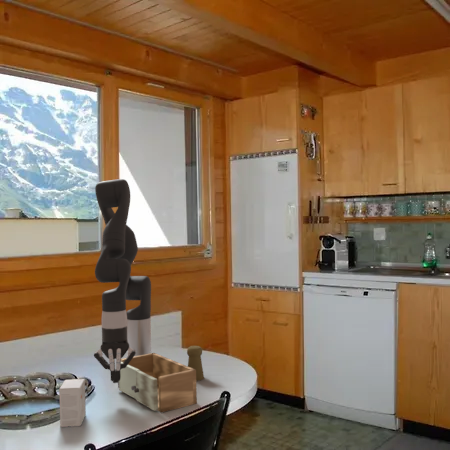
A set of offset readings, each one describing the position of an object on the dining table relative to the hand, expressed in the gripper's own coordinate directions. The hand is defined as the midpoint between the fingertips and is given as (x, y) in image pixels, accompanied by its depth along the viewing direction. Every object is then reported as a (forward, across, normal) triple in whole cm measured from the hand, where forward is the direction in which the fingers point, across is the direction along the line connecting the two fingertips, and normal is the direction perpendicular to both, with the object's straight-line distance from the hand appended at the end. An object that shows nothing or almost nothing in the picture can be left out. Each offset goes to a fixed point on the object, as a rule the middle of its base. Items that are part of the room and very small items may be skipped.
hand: (115, 382), depth 160 cm
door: (+5, +3, +5) cm, 8 cm away
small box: (+6, -11, -13) cm, 18 cm away
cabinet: (+6, +11, +2) cm, 13 cm away
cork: (+6, +25, +19) cm, 32 cm away
